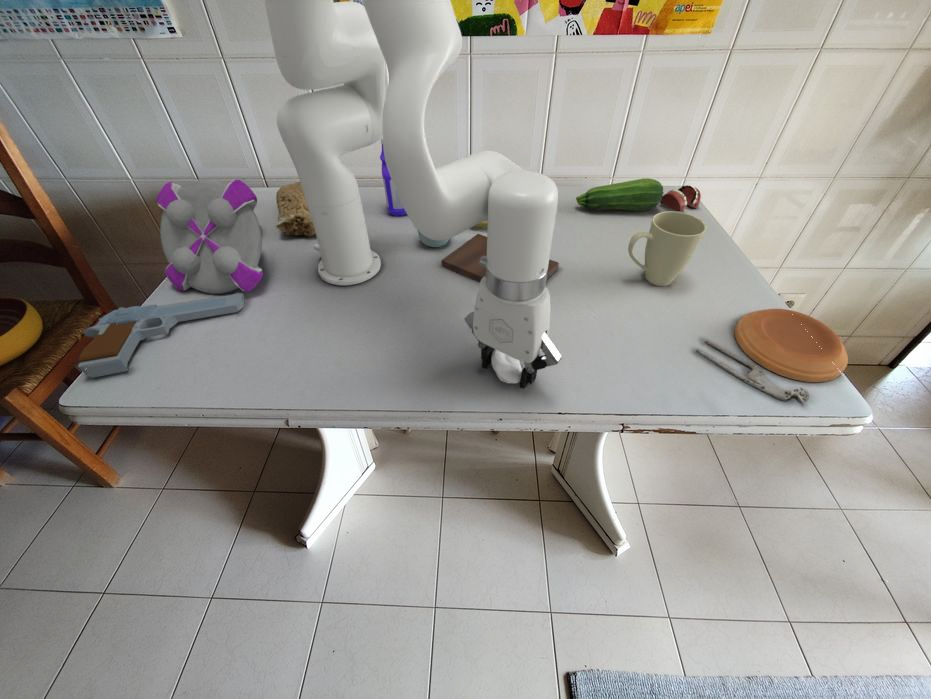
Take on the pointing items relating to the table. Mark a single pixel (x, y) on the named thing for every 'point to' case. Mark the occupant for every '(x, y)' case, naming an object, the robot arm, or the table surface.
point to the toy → (210, 236)
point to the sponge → (293, 211)
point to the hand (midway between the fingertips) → (507, 372)
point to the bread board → (477, 259)
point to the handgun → (142, 330)
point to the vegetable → (623, 196)
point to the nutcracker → (759, 378)
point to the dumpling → (506, 367)
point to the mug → (668, 245)
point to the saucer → (791, 344)
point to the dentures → (682, 198)
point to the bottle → (390, 189)
